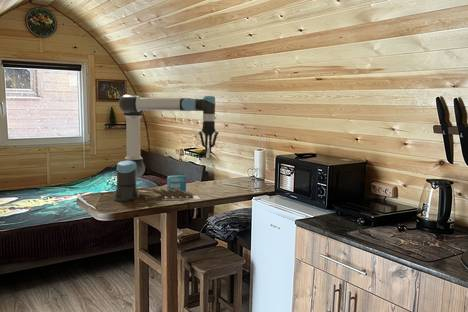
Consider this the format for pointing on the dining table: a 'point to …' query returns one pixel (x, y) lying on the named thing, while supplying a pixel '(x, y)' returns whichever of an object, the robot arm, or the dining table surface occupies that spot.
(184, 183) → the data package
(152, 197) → the domino
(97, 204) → the dining table surface
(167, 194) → the domino
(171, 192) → the domino
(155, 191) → the domino
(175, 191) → the domino
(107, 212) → the dining table surface
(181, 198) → the board
